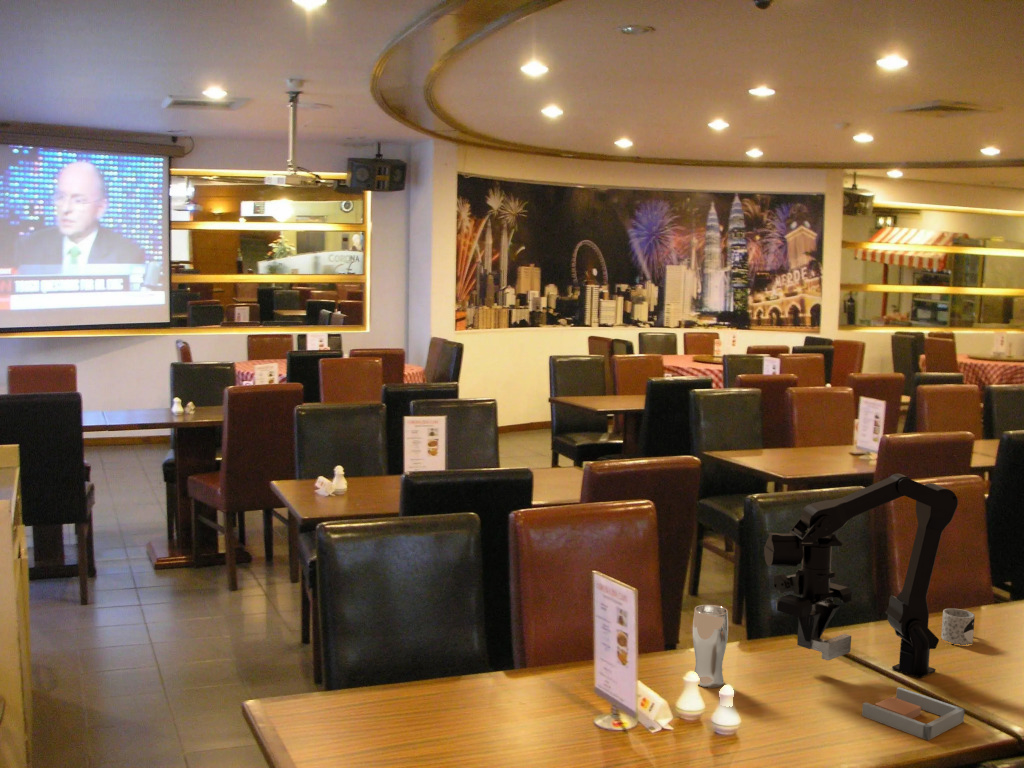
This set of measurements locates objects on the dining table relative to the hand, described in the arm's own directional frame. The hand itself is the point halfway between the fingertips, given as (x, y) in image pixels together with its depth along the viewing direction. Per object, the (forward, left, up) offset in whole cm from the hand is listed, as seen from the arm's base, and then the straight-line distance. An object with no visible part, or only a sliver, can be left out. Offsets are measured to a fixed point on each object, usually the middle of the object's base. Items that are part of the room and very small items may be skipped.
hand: (812, 639), depth 214 cm
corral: (+5, +25, -7) cm, 27 cm away
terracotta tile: (+5, +22, -7) cm, 24 cm away
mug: (-45, +9, -7) cm, 46 cm away
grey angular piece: (0, +2, -2) cm, 3 cm away
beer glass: (+22, -9, -7) cm, 25 cm away
